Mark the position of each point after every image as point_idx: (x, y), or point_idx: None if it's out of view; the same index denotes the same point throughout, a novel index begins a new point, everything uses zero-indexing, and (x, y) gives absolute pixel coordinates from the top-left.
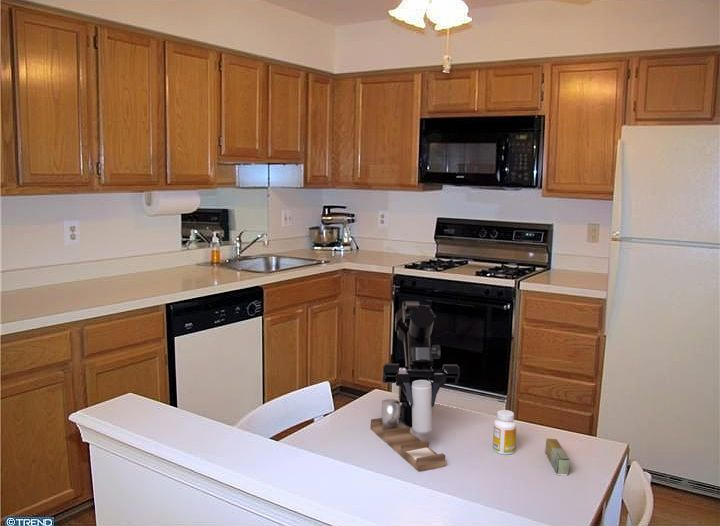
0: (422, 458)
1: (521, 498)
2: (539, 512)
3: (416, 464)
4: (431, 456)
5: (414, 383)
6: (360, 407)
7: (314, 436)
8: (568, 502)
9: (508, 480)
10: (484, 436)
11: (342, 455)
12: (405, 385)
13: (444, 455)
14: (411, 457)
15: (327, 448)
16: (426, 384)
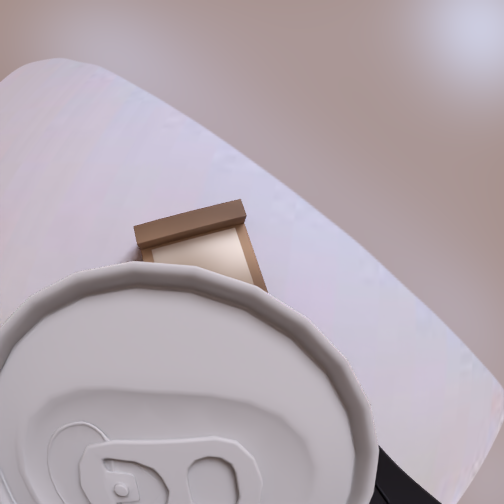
0: (224, 211)
1: (56, 98)
2: (63, 67)
3: (243, 223)
4: (187, 222)
5: (325, 495)
6: None
7: (473, 440)
8: (5, 96)
9: (30, 158)
10: None
11: (435, 338)
12: (415, 492)
13: (137, 225)
14: (252, 266)
15: (460, 377)
16: (58, 381)
